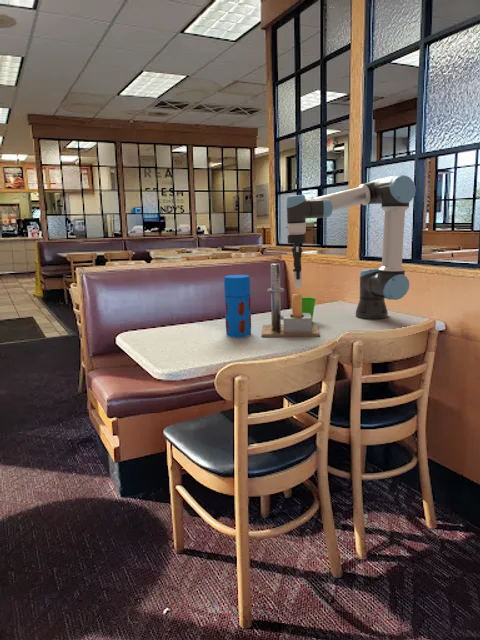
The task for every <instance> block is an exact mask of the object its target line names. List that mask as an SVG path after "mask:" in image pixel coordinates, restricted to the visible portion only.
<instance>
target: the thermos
mask: <svg viewBox="0 0 480 640" xmlns="http://www.w3.org/2000/svg"><path fill="white" fill-rule="evenodd" d="M223 287H224V288H223V289H224V291H223V292H224V313H225V316H224V317H225V332H226V333H225V334H226V336H227V337H229V336H230V337H231V338H247V337H249V336H251V334H252V313H251V312H252V310H251V309H252V308H251V307H252V305H251V279H250V275H247V274H231V275H229V274H228V275H226V276H224V278H223ZM230 337H229V338H230Z"/></svg>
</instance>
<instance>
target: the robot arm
mask: <svg viewBox="0 0 480 640" xmlns="http://www.w3.org/2000/svg"><path fill="white" fill-rule="evenodd" d="M416 189H417V188H416V185H415V182H414V180H412V177H410V176H407V175H404V174H402V175H400V174H398V175H391V176H384V177H380V178H377V179H374V180H372V181H368V182H365V183H361V184H360V185H358V187H354V188H350V189H347V190H346V189H345V190H342V191H337V192H334V193H330V194H329V193H328V194H326V195H325V194H324V195H321V196H316V197H312V198H308V199H306V196H305V194H304V195H303V194H298V195H297V194H296V195H294V194H291V195H289V196H287V198H286V207H285V208H286V223H287V225H286V226H285V229H287V244H288V245H292V248H291V253H292V258H293V269H292V272H293V283H294V288H302V286H303V285H302V252H303V248H302V247H301V246H300V245H301V244H305V243H306V242H307V235H306V234H305V233H307V231H306V230H307V229H306V228H307V225H306V224H307V223H306V219H321V218H322V219H324V218H328V217H330V216H331V215H332V214H333V212H334V211H339V210H342V209H346V208H351V207H354V206H359V205H362V206H368V205H373V204H375V205H377V204H379V205H380V204H381V209H382V210H383V211H384V219H383V238H382V254H381V255H382V256H381V266H379V268H369V269H362V270H361V271H360V273H359V302H358V304H357V307H356V309H355V317H357V318H359V319H365V320H366V319H369V320H377V319H378V320H380V319H386V318H388V316H389V315H388V314H389V312H388V309H387V305H386V302H385V299H386V300H393V301H397V300H400V299H402V298H404V297H405V296H406V295H407V293H408V292H409V289H410V280H409V279H408V277H407V276H406V275H405V274H406V273H405V272H406V269H405V268H404V267H403V253H404V252H403V249H404V232H405V220H406V219H405V218H406V217H405V216H406V212H407V210H408V209H409V208H410V202H411V201H412V200H413V199H414V198H415V197H416Z"/></svg>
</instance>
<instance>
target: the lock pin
mask: <svg viewBox="0 0 480 640" xmlns="http://www.w3.org/2000/svg"><path fill="white" fill-rule="evenodd" d="M291 295H292V296H291V298H292V300H291V301H292V306H291V307H292V309H291V311H292V312H291V313H292V317H302V297H303V295H302V294H299V293H298V294H297V293H296V294H291Z"/></svg>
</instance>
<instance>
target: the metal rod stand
mask: <svg viewBox="0 0 480 640" xmlns="http://www.w3.org/2000/svg"><path fill="white" fill-rule="evenodd" d="M284 291H285V288H283V287H281V263H270V287H269V288H267V293H270V302H271V303H270V306H271V307H270V308H271V309H270V311H271V316H270V317H271V324H262V329H261V338H289V337H290V338H300V337H301V338H303V337H305V338H306V337H309V338H310V337H313V338H314V337H318V338H319V337H320V335H321V334H320V331H319V328H318V324H317V323H314V324H313V323H312V322H313V318H311V315H310V313H302V317H292V312H291V313H290V312H289V313H288V312H287V313H283V314H282V313H281V311H282V310H281V293H284ZM281 321H283V324H282V322H281Z"/></svg>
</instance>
